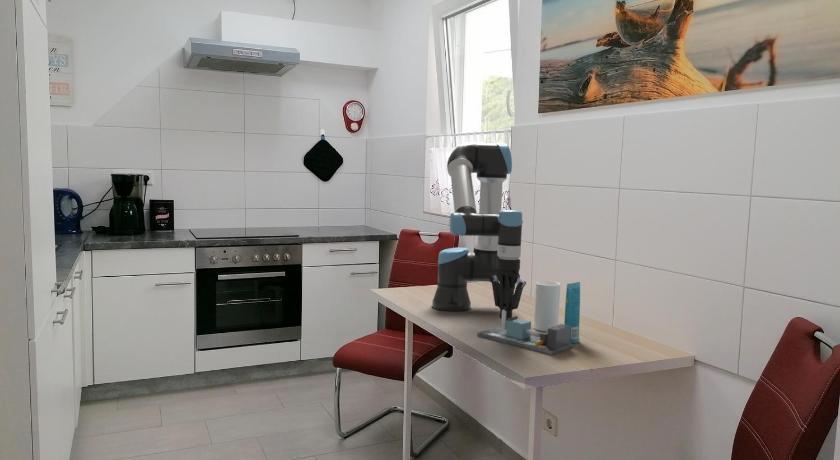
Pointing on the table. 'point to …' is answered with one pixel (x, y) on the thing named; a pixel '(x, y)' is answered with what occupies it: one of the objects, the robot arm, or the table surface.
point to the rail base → (534, 339)
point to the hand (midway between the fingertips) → (505, 329)
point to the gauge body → (519, 328)
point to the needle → (542, 338)
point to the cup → (546, 305)
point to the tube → (573, 310)
